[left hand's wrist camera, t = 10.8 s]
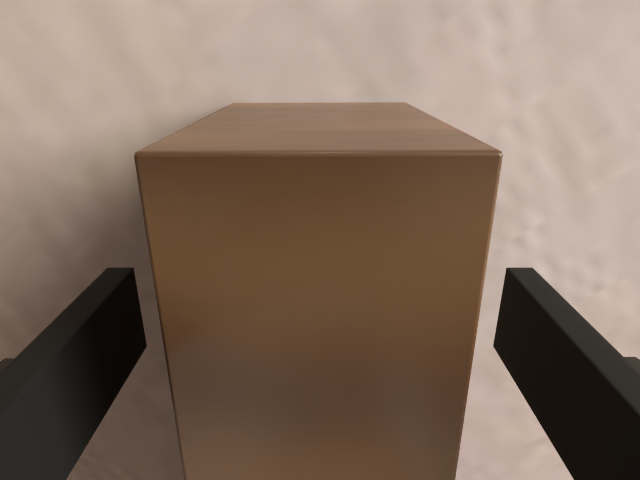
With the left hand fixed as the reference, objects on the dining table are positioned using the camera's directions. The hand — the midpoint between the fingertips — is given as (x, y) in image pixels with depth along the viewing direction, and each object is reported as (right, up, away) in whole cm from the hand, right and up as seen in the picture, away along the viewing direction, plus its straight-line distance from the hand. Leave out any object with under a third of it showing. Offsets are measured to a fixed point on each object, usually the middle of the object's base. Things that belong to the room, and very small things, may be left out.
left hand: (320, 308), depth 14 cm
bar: (0, -23, +12) cm, 26 cm away
